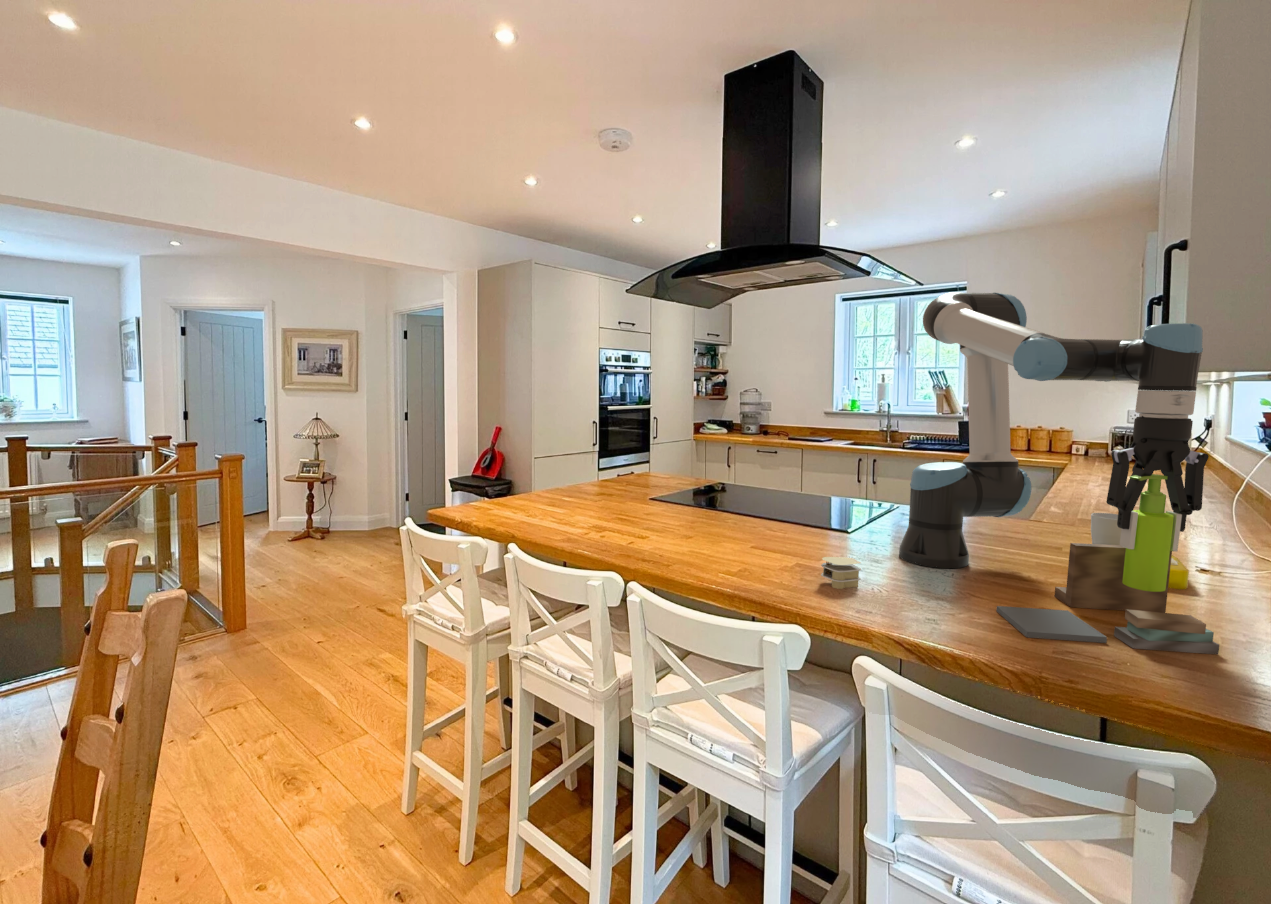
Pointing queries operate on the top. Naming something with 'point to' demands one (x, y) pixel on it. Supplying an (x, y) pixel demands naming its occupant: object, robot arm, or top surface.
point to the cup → (1105, 529)
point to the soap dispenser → (1150, 540)
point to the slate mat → (1050, 624)
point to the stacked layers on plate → (841, 571)
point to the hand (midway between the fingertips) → (1147, 547)
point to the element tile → (1178, 574)
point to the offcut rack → (1130, 602)
